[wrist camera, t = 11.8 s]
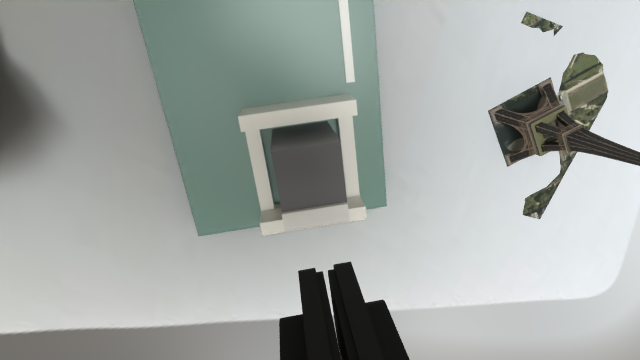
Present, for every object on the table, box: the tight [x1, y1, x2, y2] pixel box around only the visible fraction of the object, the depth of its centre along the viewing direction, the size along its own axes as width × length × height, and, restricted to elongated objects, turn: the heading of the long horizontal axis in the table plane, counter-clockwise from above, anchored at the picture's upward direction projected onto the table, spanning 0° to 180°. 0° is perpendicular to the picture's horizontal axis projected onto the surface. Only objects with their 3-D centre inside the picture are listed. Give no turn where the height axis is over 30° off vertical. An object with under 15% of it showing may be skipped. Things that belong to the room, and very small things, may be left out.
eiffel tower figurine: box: [488, 12, 640, 219], centre depth 24 cm, size 15×10×13 cm
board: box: [133, 0, 387, 236], centre depth 25 cm, size 20×15×4 cm
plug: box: [271, 121, 350, 232], centre depth 24 cm, size 5×4×6 cm
